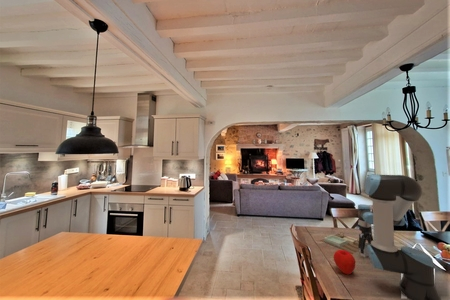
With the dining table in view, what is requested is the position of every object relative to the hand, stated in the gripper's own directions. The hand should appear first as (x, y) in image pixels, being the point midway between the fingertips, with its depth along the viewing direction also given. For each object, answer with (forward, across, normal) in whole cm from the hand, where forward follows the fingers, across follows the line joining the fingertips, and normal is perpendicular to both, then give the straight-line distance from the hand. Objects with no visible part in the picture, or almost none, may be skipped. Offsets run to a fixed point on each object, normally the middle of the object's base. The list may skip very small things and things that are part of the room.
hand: (366, 255), depth 132 cm
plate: (-1, +11, +17) cm, 20 cm away
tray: (-1, -1, +22) cm, 23 cm away
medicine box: (+1, 0, 0) cm, 1 cm away
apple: (+1, -34, -2) cm, 34 cm away
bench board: (0, +5, +18) cm, 19 cm away
